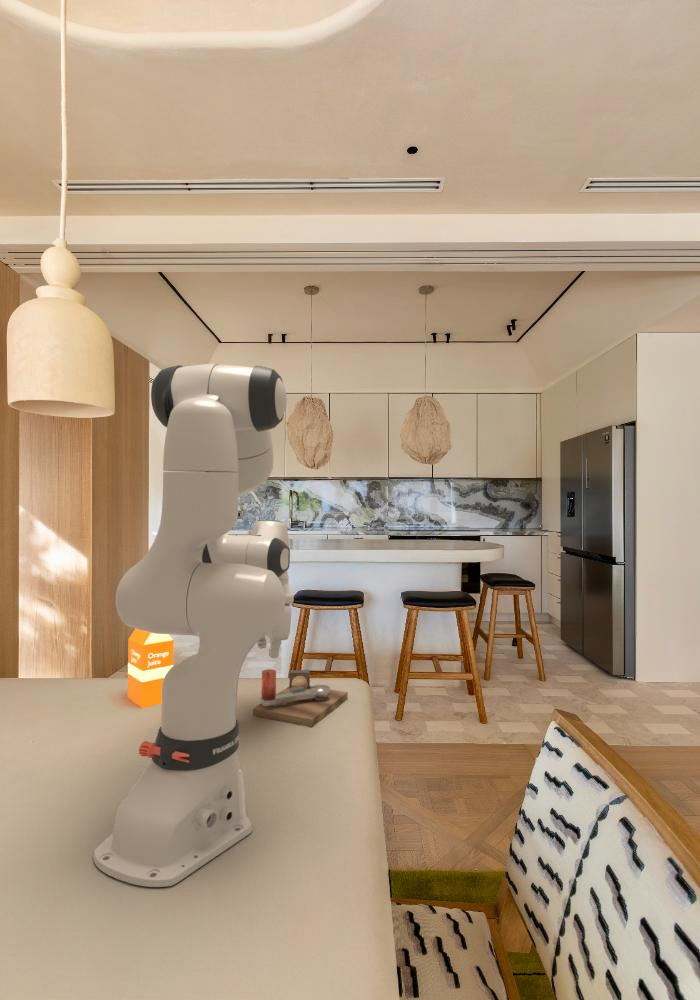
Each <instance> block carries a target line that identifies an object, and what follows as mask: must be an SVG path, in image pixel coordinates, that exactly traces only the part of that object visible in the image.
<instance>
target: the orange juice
mask: <svg viewBox="0 0 700 1000" xmlns="http://www.w3.org/2000/svg"><path fill="white" fill-rule="evenodd" d="M174 641H175V640H174V639H173V638H172V636H171V634H154V633H150V632H146V631H142V630H139V629H135V628H134V630H133V632H132V633H131V635H130V637H128V646H127V647H128V649H127V650H128V653H127V655H128V656H127V657H128V658H127V660H128V661H127V698H128V697H129V698H130V699H131V700H132V701H131V700H130V699H129V698H128V699H129V700H130V701H131V702H133V701H134V702H135V703H134V702H133V703H134V704H136V705H137V704H138V705H139V707H140V708H141V709H144V708H148V707H151V706H156V705H159V704H161V705H162V683H163V680H164V677H165V675H166V674H167V672H168V671H169V670H170V669H171V668H172V667H173V666H174ZM138 705H137V706H138Z"/></svg>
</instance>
